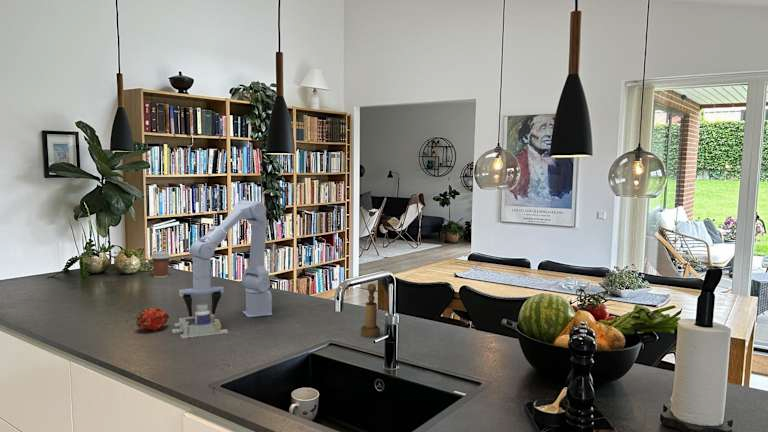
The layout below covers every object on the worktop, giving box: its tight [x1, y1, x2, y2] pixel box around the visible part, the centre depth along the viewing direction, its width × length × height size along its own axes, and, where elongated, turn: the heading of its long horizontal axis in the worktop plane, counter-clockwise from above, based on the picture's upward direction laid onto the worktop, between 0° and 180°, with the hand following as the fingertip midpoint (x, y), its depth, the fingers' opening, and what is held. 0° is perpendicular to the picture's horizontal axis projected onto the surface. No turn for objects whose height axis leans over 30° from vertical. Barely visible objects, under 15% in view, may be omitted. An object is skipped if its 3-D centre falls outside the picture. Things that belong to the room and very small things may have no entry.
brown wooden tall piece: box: [360, 283, 381, 339], centre depth 187 cm, size 7×6×18 cm
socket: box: [171, 314, 229, 339], centre depth 188 cm, size 17×16×3 cm
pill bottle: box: [193, 302, 211, 325], centre depth 188 cm, size 5×5×9 cm
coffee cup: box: [150, 251, 171, 279], centre depth 270 cm, size 9×9×12 cm
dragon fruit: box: [136, 306, 170, 332], centre depth 186 cm, size 8×8×12 cm
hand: (201, 314), depth 188 cm, fingers open, 7 cm apart
